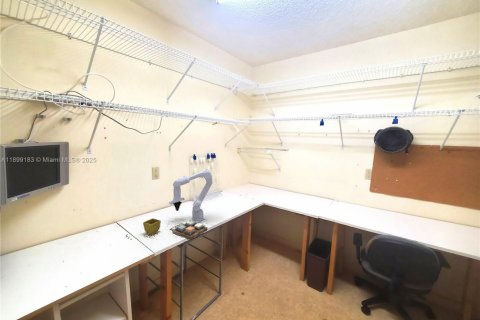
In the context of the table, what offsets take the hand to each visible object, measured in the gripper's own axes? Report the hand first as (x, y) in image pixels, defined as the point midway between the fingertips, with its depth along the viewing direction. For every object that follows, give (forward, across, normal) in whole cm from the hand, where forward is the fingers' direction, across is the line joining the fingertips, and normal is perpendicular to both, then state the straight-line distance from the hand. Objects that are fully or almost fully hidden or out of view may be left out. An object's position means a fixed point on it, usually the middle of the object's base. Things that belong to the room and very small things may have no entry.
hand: (177, 210), depth 163 cm
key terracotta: (+6, +12, +26) cm, 29 cm away
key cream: (+7, +3, +25) cm, 27 cm away
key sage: (+7, +3, +17) cm, 19 cm away
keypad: (+9, +8, +22) cm, 25 cm away
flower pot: (+10, +24, 0) cm, 26 cm away
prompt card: (+9, +8, +8) cm, 14 cm away
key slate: (+7, +12, +18) cm, 22 cm away
